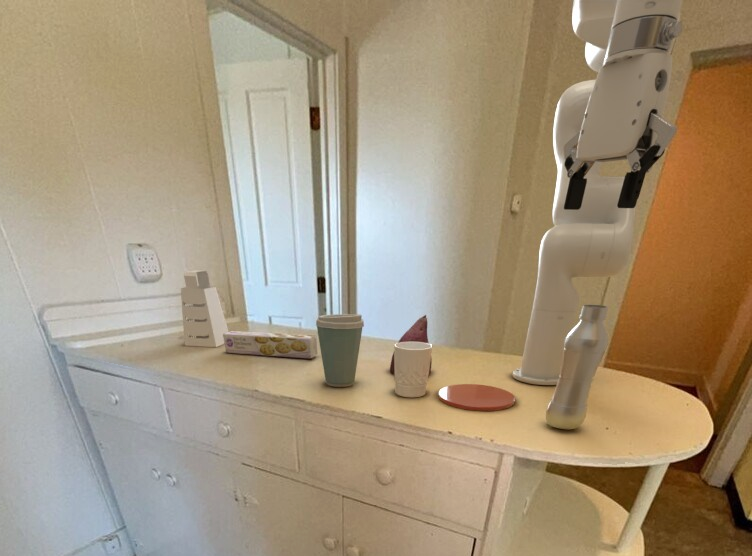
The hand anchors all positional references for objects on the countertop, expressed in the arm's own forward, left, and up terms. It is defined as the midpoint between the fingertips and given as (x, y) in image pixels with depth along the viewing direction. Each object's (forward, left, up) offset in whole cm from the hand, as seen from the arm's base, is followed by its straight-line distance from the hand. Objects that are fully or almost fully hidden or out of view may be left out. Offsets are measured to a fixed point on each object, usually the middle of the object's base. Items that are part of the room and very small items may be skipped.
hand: (597, 208), depth 65 cm
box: (+35, -71, -33) cm, 86 cm away
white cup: (+17, -23, -33) cm, 44 cm away
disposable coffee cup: (+28, -36, -33) cm, 56 cm away
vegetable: (+8, -38, -33) cm, 51 cm away
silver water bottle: (+2, +6, -33) cm, 34 cm away
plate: (+6, -14, -33) cm, 36 cm away
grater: (+49, -95, -33) cm, 112 cm away
